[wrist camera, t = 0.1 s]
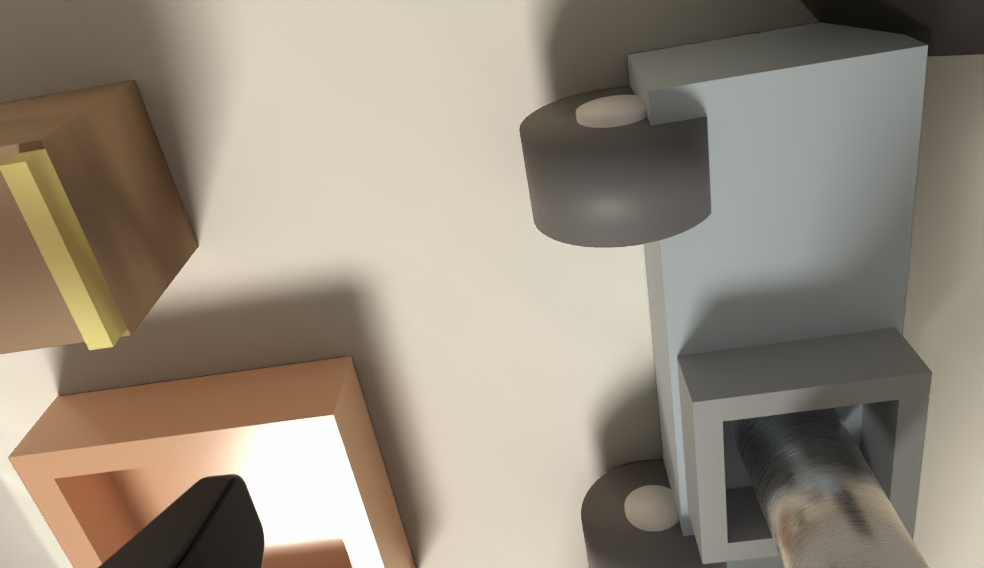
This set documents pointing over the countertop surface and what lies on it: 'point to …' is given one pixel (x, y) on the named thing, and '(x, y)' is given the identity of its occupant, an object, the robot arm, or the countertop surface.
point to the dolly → (749, 266)
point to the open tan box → (220, 463)
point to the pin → (821, 494)
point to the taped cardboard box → (84, 219)
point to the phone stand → (912, 21)
